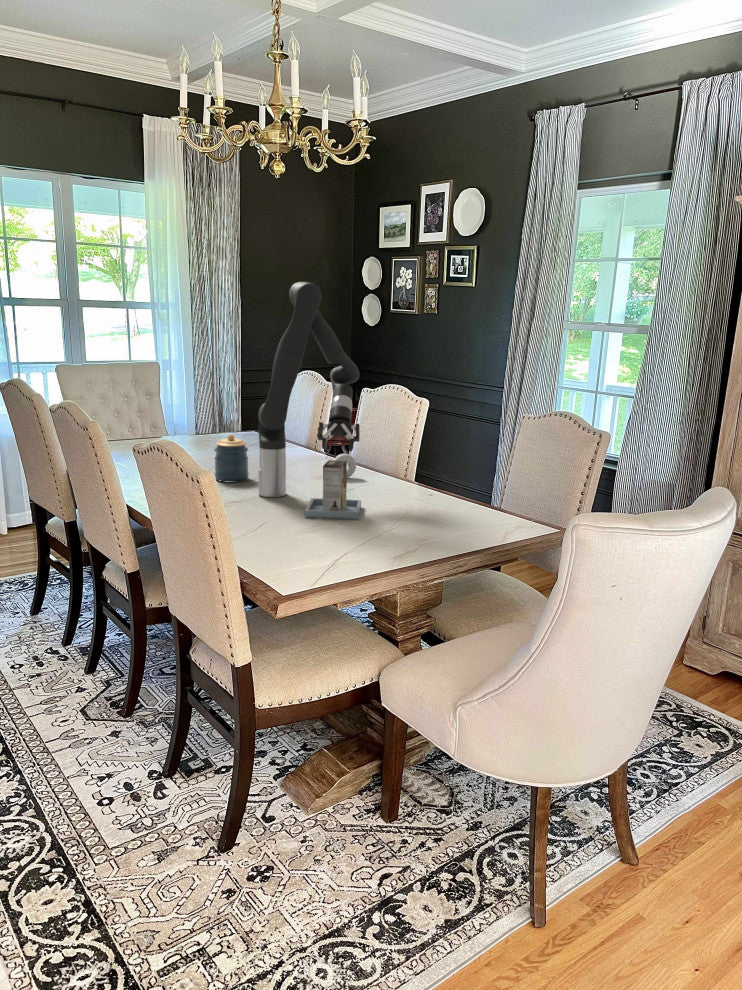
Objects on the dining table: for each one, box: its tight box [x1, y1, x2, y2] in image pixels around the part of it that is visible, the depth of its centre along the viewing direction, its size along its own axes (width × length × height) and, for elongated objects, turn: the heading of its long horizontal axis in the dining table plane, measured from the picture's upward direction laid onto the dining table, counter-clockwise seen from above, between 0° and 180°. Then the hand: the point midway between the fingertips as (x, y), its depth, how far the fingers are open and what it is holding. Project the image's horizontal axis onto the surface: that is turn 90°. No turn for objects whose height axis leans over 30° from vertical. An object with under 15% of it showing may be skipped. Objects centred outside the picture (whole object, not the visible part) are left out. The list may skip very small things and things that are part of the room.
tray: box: [304, 497, 362, 521], centre depth 247 cm, size 17×16×2 cm
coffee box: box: [322, 459, 348, 511], centre depth 246 cm, size 9×6×16 cm
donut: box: [333, 453, 357, 479], centre depth 296 cm, size 10×4×10 cm, turn 109°
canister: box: [213, 433, 250, 482], centre depth 289 cm, size 13×13×18 cm
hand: (337, 449), depth 253 cm, fingers open, 8 cm apart
